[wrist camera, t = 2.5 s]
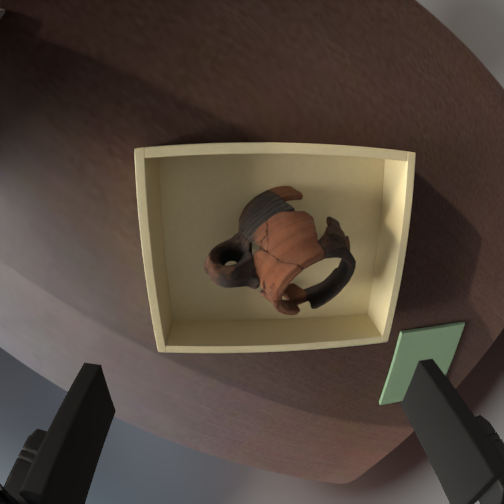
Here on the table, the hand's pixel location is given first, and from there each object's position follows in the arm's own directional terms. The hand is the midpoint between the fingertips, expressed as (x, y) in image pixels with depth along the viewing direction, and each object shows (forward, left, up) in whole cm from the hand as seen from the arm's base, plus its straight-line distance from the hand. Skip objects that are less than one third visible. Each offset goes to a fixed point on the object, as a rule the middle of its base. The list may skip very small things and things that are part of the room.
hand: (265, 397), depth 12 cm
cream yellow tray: (-2, 0, -19) cm, 19 cm away
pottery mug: (-2, 0, -18) cm, 19 cm away
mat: (-22, +17, -19) cm, 34 cm away
